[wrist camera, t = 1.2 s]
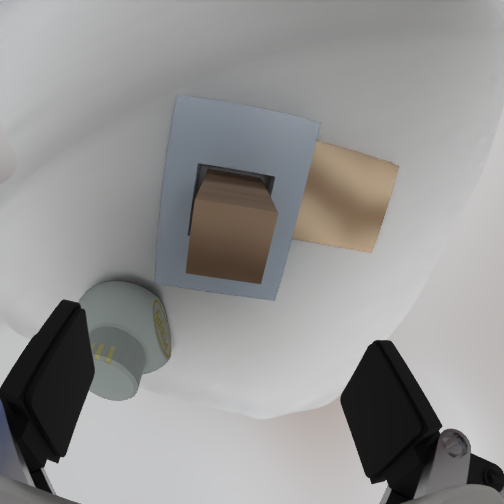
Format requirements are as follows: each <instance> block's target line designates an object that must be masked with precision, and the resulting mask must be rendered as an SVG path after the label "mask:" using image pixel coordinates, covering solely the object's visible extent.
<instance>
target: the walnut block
mask: <svg viewBox="0 0 504 504" xmlns="http://www.w3.org/2000/svg"><path fill="white" fill-rule="evenodd" d="M277 216H278V211H277V209H276V207H275V205H274V203H273V201H272V199H271V197H270V195H269V193H268V191H267V189H266V187H265V185H264V183H263V181H262V179H261V178H258V177H253V176H247V175H242V174H236V173H230V172H224V171H218V170H212V169H208V171H207V173H206V176H205V178H204V180H203V182H202V184H201V187H200V189H199V191H198V193H197V196H196V198H195V203H194V210H193V217H192V224H191V232H190V239H189V247H188V256H187V264H186V273H187V274H193V275H200V276H207V277H213V278H220V279H227V280H234V281H241V282H248V283H255V284H261V282H262V278H263V274H264V270H265V266H266V262H267V258H268V254H269V250H270V245H271V241H272V237H273V233H274V229H275V225H276V221H277Z"/></svg>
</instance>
